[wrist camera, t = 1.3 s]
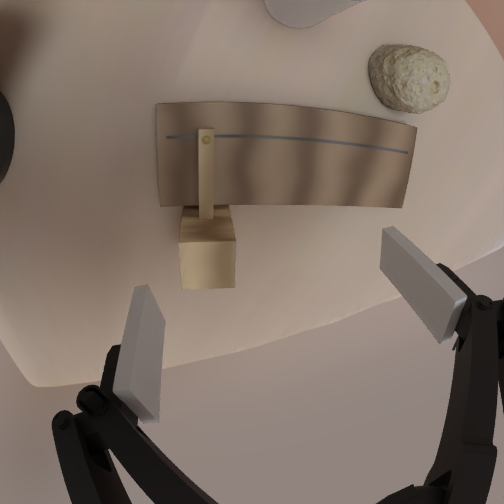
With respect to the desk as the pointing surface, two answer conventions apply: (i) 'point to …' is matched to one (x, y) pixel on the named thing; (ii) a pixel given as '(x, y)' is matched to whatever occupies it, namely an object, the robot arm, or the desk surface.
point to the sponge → (409, 78)
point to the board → (283, 155)
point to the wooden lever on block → (207, 231)
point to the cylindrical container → (306, 10)
